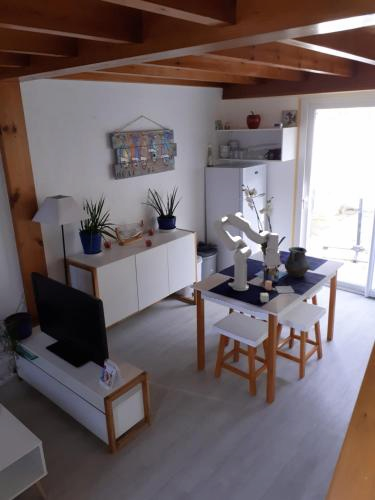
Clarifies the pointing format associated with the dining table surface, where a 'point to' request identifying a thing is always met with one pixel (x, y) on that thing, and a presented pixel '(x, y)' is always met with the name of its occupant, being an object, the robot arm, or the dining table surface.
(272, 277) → the small box
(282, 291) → the grey mat
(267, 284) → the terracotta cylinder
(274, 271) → the walnut block
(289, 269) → the pitcher
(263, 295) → the sage block
